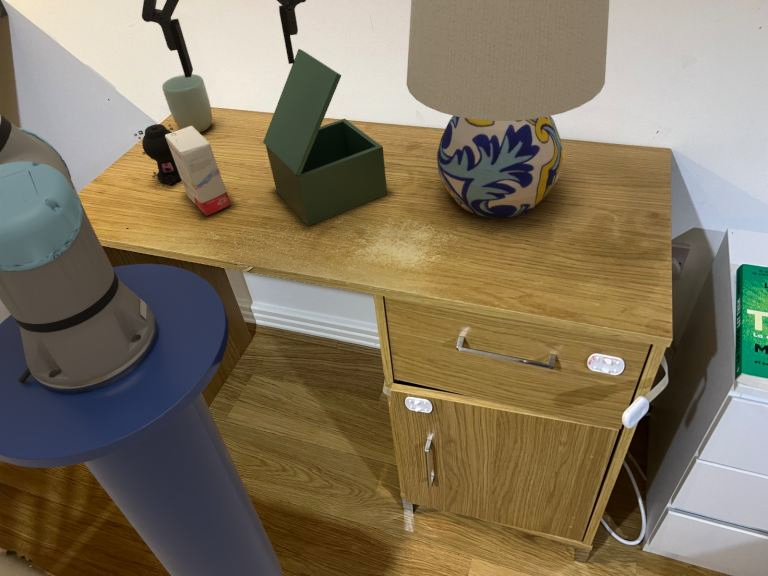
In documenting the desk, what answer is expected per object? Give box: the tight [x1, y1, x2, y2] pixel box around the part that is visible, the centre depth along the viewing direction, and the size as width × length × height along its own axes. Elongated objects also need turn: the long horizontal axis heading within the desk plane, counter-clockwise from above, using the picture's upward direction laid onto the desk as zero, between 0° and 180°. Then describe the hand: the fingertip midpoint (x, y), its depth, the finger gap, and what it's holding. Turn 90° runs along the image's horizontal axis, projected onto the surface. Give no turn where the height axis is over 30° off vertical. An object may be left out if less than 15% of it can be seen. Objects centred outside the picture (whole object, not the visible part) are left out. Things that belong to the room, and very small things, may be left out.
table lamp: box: [406, 0, 610, 219], centre depth 82 cm, size 27×27×40 cm
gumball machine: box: [133, 123, 181, 187], centre depth 104 cm, size 7×6×10 cm
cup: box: [161, 73, 213, 134], centre depth 118 cm, size 8×8×10 cm
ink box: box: [165, 126, 232, 216], centre depth 97 cm, size 9×5×12 cm, turn 35°
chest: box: [265, 118, 388, 227], centre depth 96 cm, size 15×13×9 cm
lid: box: [262, 48, 342, 176], centre depth 88 cm, size 15×13×1 cm
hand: (240, 67), depth 79 cm, fingers open, 13 cm apart
